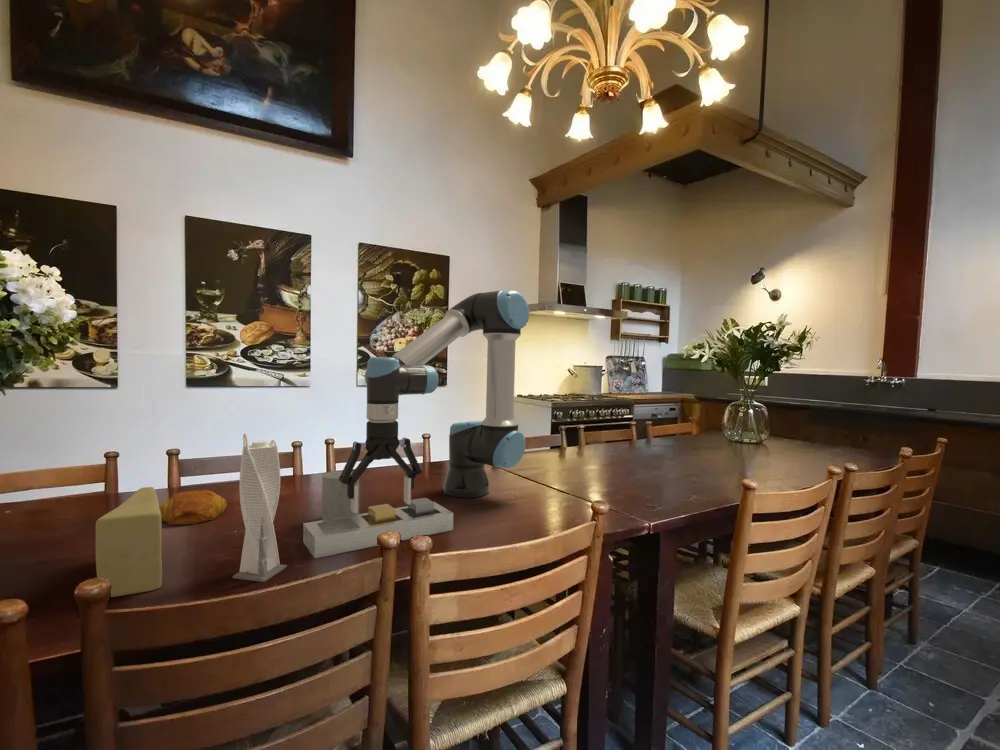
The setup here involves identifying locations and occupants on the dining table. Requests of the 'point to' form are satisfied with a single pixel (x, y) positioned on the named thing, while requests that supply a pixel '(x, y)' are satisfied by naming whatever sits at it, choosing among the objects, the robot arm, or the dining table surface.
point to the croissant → (192, 507)
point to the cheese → (131, 545)
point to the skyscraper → (259, 510)
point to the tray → (375, 528)
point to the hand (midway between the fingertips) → (381, 507)
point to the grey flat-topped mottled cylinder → (335, 496)
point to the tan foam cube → (381, 514)
